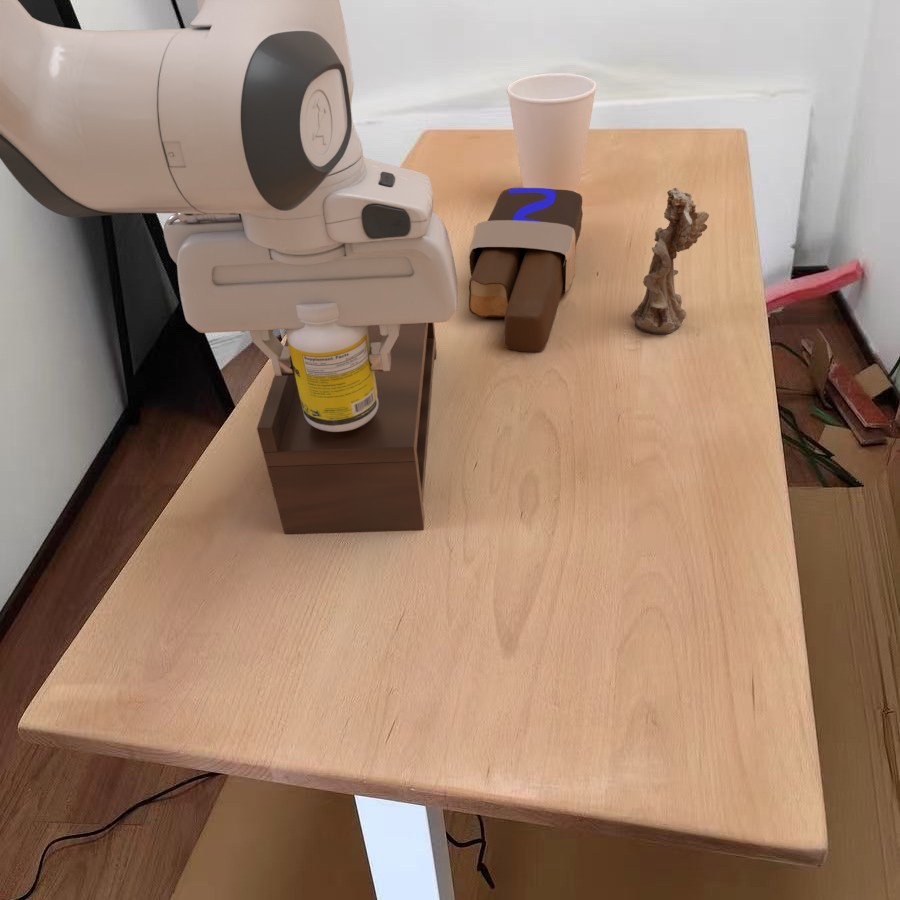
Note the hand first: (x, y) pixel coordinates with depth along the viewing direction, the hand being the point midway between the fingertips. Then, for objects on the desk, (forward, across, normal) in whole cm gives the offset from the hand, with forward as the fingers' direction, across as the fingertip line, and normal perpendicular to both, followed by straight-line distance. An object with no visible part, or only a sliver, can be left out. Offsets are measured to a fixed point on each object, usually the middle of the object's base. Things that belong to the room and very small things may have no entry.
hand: (334, 369), depth 68 cm
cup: (+14, +21, +63) cm, 68 cm away
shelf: (+14, 0, +10) cm, 17 cm away
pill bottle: (+4, 0, 0) cm, 4 cm away
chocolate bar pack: (+14, +16, +38) cm, 44 cm away
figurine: (+14, +31, +28) cm, 44 cm away
